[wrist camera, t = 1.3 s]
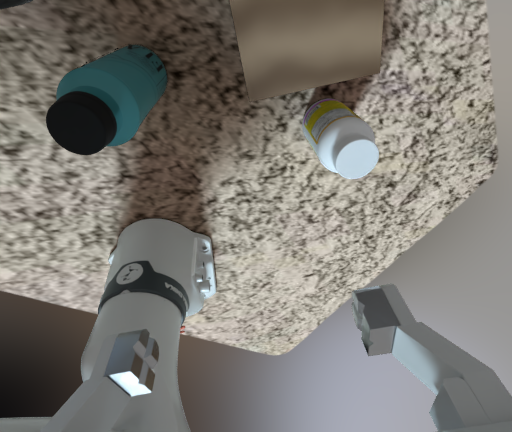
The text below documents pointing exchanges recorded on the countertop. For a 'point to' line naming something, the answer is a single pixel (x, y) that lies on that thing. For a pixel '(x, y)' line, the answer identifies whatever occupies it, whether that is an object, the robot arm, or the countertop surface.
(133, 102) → the beverage bottle
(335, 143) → the supplement bottle
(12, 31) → the countertop surface
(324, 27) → the walnut stool
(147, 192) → the countertop surface
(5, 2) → the beverage cup
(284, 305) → the countertop surface
